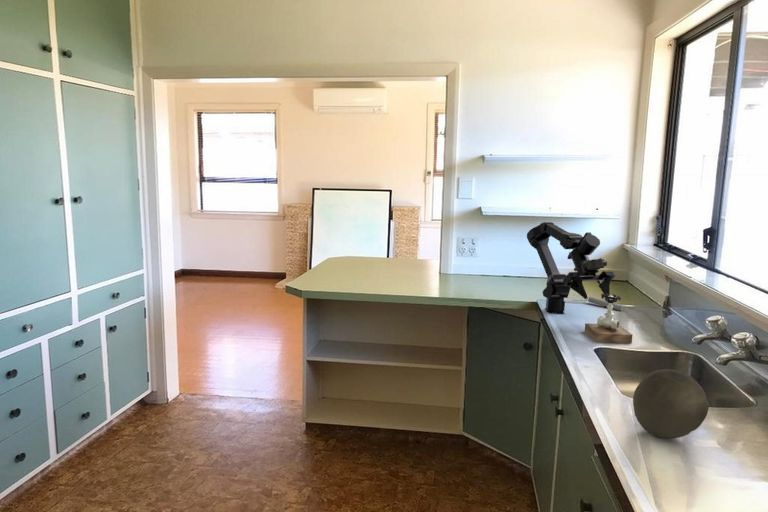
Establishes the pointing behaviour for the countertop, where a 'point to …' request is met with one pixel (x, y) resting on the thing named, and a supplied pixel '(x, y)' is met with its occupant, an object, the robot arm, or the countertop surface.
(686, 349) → the countertop surface
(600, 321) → the valve
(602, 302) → the kitchen whisk
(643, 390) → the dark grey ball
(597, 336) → the walnut plinth
